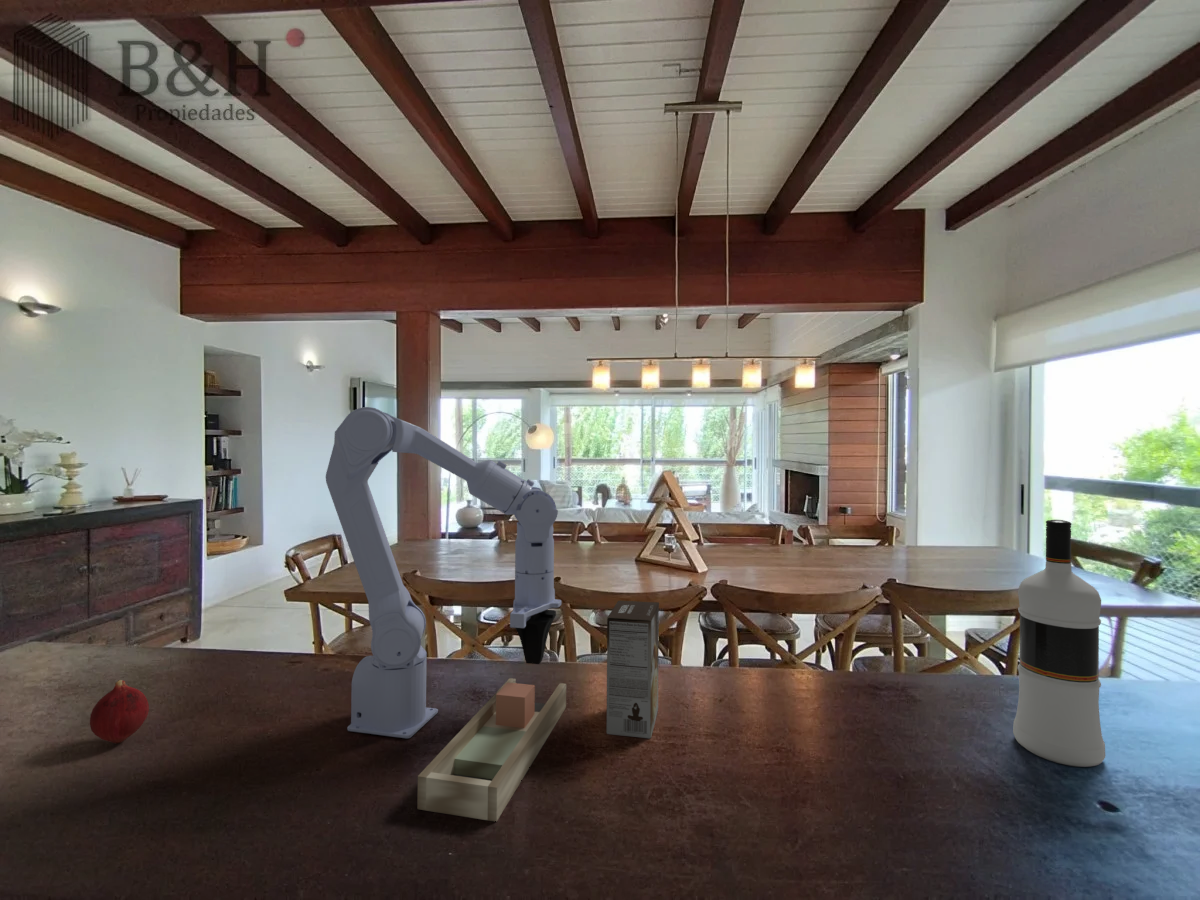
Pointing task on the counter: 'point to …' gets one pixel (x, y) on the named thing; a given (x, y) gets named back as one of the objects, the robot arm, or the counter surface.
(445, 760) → the trap lane
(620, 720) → the coffee box
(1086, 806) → the counter surface
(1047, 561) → the vodka
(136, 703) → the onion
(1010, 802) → the counter surface
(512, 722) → the block
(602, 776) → the counter surface
